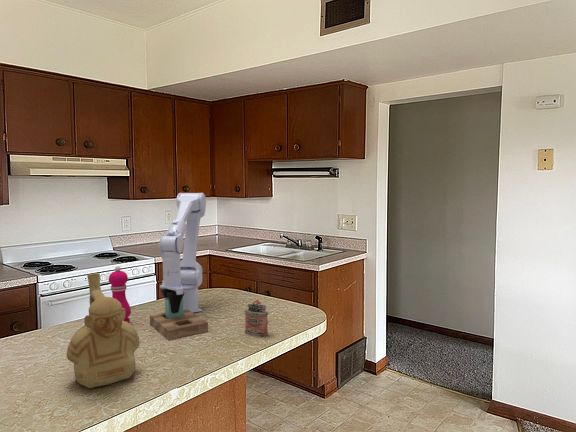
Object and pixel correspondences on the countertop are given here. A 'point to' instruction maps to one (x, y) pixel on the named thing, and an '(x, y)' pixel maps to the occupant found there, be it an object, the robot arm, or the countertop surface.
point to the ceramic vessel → (103, 341)
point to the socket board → (179, 325)
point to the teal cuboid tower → (168, 310)
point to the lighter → (256, 320)
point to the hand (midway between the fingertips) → (173, 311)
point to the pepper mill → (120, 289)
